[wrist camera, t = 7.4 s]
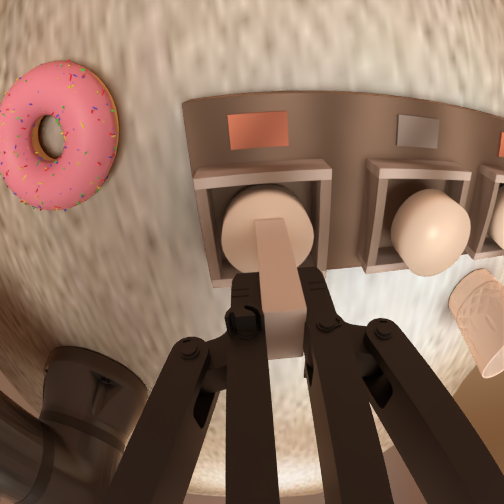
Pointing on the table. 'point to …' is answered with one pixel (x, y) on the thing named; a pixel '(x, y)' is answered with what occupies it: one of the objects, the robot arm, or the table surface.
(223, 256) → the panel
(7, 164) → the doughnut
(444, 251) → the button mid
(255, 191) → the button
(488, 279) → the tan paper cup
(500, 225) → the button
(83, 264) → the table surface
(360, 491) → the robot arm
